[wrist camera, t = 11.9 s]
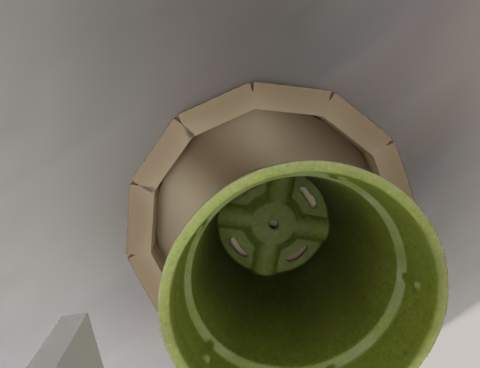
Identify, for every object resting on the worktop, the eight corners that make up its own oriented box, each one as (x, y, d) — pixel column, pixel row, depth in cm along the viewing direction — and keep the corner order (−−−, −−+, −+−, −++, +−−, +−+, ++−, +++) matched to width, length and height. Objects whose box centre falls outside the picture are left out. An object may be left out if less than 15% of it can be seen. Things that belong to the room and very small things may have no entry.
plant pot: (147, 207, 20) (93, 290, 12) (289, 94, 19) (343, 95, 11) (255, 327, 22) (276, 472, 14) (389, 230, 21) (501, 322, 13)
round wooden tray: (240, 25, 19) (242, 18, 17) (447, 190, 21) (469, 200, 19) (85, 249, 21) (72, 265, 19) (289, 373, 24) (295, 398, 22)
